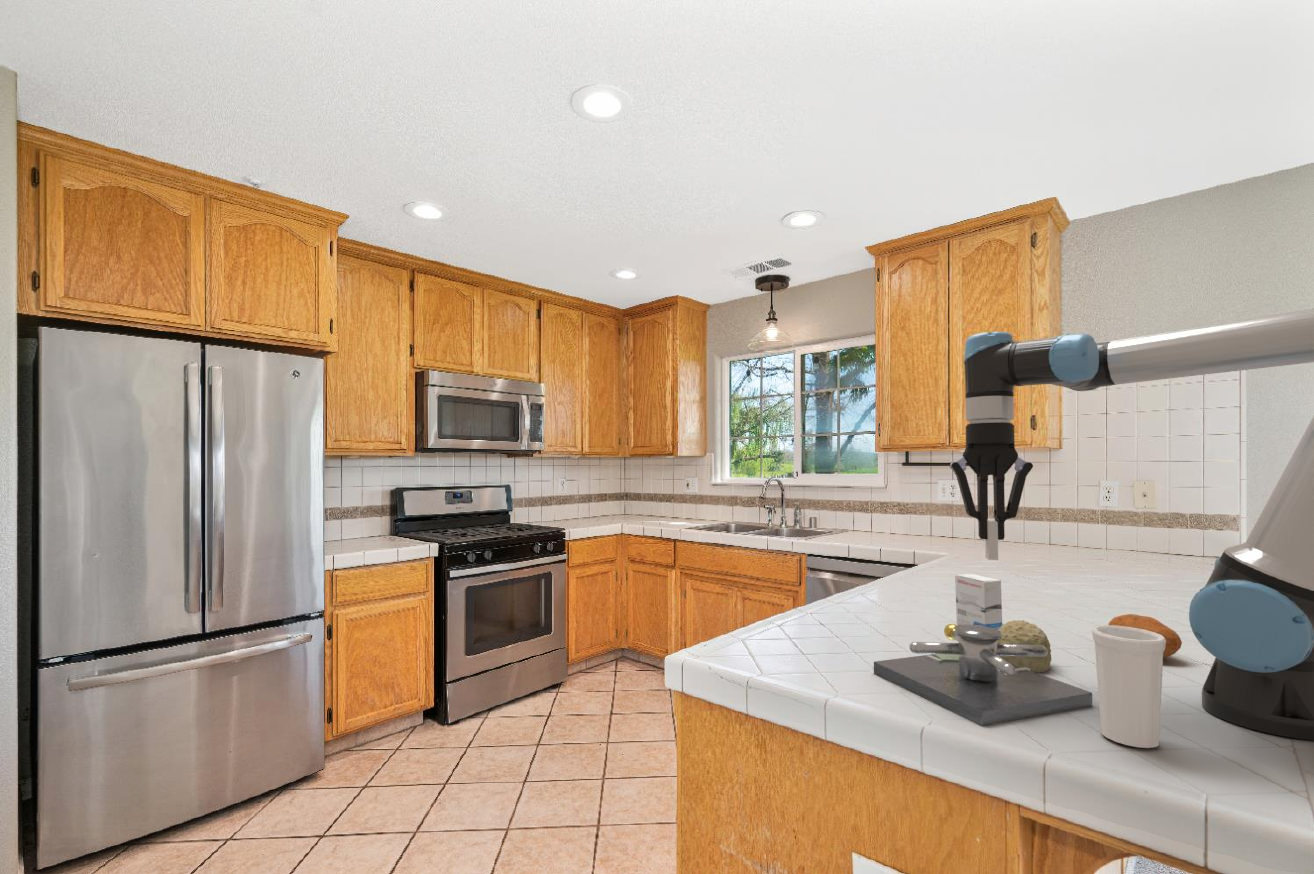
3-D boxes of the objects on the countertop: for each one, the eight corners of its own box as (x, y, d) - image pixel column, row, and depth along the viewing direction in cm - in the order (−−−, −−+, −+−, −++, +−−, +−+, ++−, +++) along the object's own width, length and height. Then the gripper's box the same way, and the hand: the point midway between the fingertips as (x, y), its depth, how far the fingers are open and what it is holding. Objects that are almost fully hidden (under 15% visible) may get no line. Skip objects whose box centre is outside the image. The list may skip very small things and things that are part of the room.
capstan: (1011, 654, 115) (1011, 613, 115) (1088, 703, 92) (1088, 652, 92) (888, 651, 116) (888, 611, 116) (934, 698, 93) (934, 648, 94)
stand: (1092, 705, 97) (1092, 690, 97) (982, 725, 89) (982, 709, 90) (968, 659, 119) (968, 647, 119) (872, 672, 111) (872, 659, 111)
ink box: (1003, 635, 136) (1003, 580, 136) (984, 637, 134) (984, 581, 134) (972, 625, 144) (972, 573, 144) (954, 626, 142) (954, 574, 143)
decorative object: (1044, 695, 111) (1076, 648, 111) (992, 659, 113) (1023, 613, 113) (1021, 682, 120) (1050, 638, 120) (973, 649, 122) (1002, 606, 122)
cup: (1078, 728, 89) (1077, 625, 89) (1133, 726, 90) (1131, 624, 90) (1125, 755, 81) (1123, 641, 81) (1184, 753, 81) (1182, 641, 82)
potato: (1133, 646, 129) (1133, 608, 129) (1194, 663, 118) (1193, 622, 118) (1098, 649, 126) (1098, 611, 126) (1157, 667, 115) (1156, 626, 115)
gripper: (1025, 423, 113) (1028, 557, 112) (945, 424, 116) (947, 553, 115) (1037, 420, 105) (1040, 563, 104) (951, 421, 109) (954, 560, 108)
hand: (991, 558), depth 110 cm, fingers closed
